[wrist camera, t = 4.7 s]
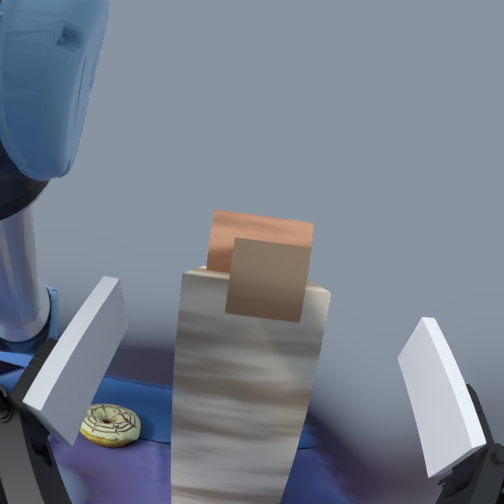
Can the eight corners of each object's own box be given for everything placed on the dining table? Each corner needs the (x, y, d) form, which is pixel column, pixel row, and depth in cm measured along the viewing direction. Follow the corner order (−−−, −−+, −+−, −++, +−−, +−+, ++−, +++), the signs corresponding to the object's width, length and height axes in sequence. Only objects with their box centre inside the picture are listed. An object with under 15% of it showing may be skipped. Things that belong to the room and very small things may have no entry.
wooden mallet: (378, 329, 12) (396, 189, 12) (141, 299, 12) (161, 154, 12) (299, 279, 34) (306, 226, 34) (211, 267, 34) (218, 214, 34)
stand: (271, 526, 24) (330, 292, 24) (172, 514, 24) (182, 273, 24) (268, 479, 34) (308, 280, 34) (185, 469, 34) (202, 266, 34)
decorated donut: (150, 447, 38) (150, 430, 38) (87, 454, 31) (83, 436, 31) (129, 414, 46) (129, 397, 46) (74, 417, 39) (72, 400, 39)
